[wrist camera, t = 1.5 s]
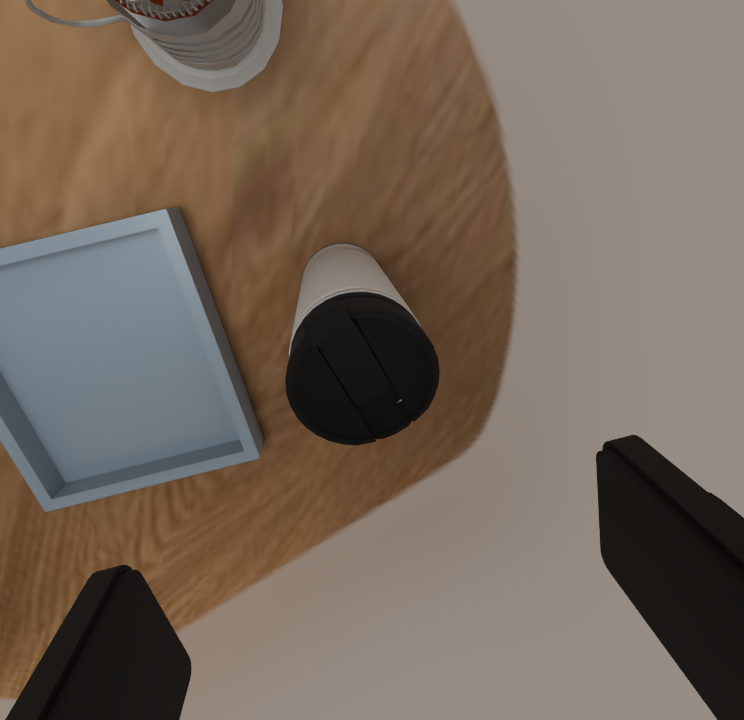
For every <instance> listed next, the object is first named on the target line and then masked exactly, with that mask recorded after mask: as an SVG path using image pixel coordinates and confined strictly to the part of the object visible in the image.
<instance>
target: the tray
mask: <svg viewBox="0 0 744 720" xmlns="http://www.w3.org/2000/svg"><path fill="white" fill-rule="evenodd" d="M0 441H1V443H2V444H3V446H4V447H5V449H6V451H7V452H8V454H9V455H10V457H11V459H12V460H13V462H14V463H15V465H16V467H17V468H18V470H19V471H20V473H21V475H22V476H23V478H24V479H25V481H26V482H27V484H28V486H29V487H30V489H31V490H32V492H33V494H34V495H35V497H36V498H37V500H38V502H39V503H40V505H41V506H42V508H43V510H44V511H45V512H48V511H52V510H56V509H60V508H64V507H68V506H72V505H76V504H80V503H84V502H88V501H92V500H96V499H100V498H104V497H108V496H112V495H116V494H120V493H124V492H128V491H132V490H136V489H140V488H144V487H148V486H152V485H156V484H160V483H164V482H168V481H172V480H176V479H180V478H184V477H188V476H192V475H196V474H200V473H204V472H208V471H212V470H216V469H220V468H224V467H228V466H232V465H236V464H239V463H243V462H247V461H251V460H255V459H259V458H260V457H261V452H262V448H263V443H264V437H263V434H262V432H261V429H260V426H259V423H258V421H257V418H256V415H255V412H254V410H253V407H252V404H251V401H250V399H249V396H248V393H247V391H246V388H245V385H244V382H243V380H242V377H241V374H240V371H239V369H238V366H237V363H236V361H235V358H234V355H233V352H232V350H231V347H230V344H229V341H228V339H227V336H226V333H225V330H224V328H223V325H222V322H221V320H220V317H219V314H218V311H217V309H216V306H215V303H214V300H213V298H212V295H211V292H210V290H209V287H208V284H207V281H206V279H205V276H204V273H203V270H202V268H201V265H200V262H199V259H198V257H197V254H196V251H195V249H194V246H193V243H192V240H191V238H190V235H189V232H188V229H187V227H186V224H185V221H184V219H183V216H182V213H181V210H180V208H179V207H174V208H168V209H163V210H159V211H155V212H151V213H147V214H143V215H138V216H134V217H130V218H126V219H122V220H118V221H114V222H109V223H105V224H101V225H97V226H93V227H89V228H84V229H80V230H76V231H72V232H68V233H64V234H60V235H55V236H51V237H47V238H43V239H39V240H35V241H31V242H26V243H22V244H18V245H14V246H10V247H6V248H1V249H0Z"/></svg>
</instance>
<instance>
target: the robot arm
mask: <svg viewBox="0 0 744 720" xmlns="http://www.w3.org/2000/svg"><path fill="white" fill-rule="evenodd" d="M596 463H597V485H598V505H599V527H600V547H601V555H602V558H603V561H604V563H605V565H606V567H607V569H608V570H609V572H610V573H611V574H612V576H613V577H614V579H615V580H616V581H617V583H618V584H619V585H620V587H621V588H622V589H623V591H624V592H625V594H626V595H627V596H628V598H629V599H630V600H631V602H632V603H633V605H634V606H635V607H636V609H637V610H638V611H639V613H640V614H641V615H642V617H643V618H644V620H645V621H646V622H647V624H648V625H649V626H650V628H651V629H652V631H653V632H654V633H655V635H656V636H657V637H658V639H659V640H660V642H661V643H662V644H663V646H664V647H665V648H666V650H667V651H668V652H669V654H670V655H671V657H672V658H673V659H674V660H675V662H676V663H677V665H678V666H679V668H680V669H681V670H682V672H683V673H684V674H685V676H686V677H687V678H688V680H689V681H690V683H691V684H692V685H693V687H694V688H695V689H696V691H697V692H698V694H699V695H700V696H701V698H702V699H703V700H704V702H705V703H706V704H707V706H708V707H709V709H710V710H711V711H712V713H713V714H714V715H715V717H716V718H717V720H744V518H743V517H742V516H741V515H739V514H738V513H737V512H736V511H734V510H733V509H732V508H731V507H729V506H728V505H727V504H726V503H724V502H723V501H722V500H721V499H719V498H718V497H716V496H714V495H713V494H712V493H709V492H707V491H705V490H704V489H703V488H702V487H701V486H699V485H698V484H697V483H696V482H694V481H693V480H692V479H691V478H689V477H688V476H687V475H686V474H685V473H683V472H682V471H681V470H680V469H678V468H677V467H676V466H675V465H673V464H672V463H671V462H670V461H669V460H667V459H666V458H665V457H664V456H662V455H661V454H660V453H659V452H657V451H656V450H655V449H654V448H653V447H651V446H650V445H649V444H648V443H646V442H645V441H644V440H643V439H642V438H640V437H638V436H636V435H630V436H627V437H623V438H619V439H615V440H611V441H607V442H605V443H604V445H603V450H602V451H599V452H597V455H596ZM190 677H191V661H190V658H189V655H188V654H187V652H186V650H185V648H184V647H183V645H182V643H181V641H180V640H179V638H178V636H177V635H176V633H175V631H174V629H173V628H172V626H171V624H170V622H169V621H168V619H167V617H166V615H165V614H164V612H163V610H162V609H161V607H160V605H159V603H158V602H157V600H156V598H155V596H154V595H153V593H152V591H151V590H150V588H149V586H148V584H147V583H146V581H145V579H144V577H143V576H142V574H141V573H140V572H139V571H138V570H132V568H131V567H130V566H128V565H121V566H117V567H113V568H109V569H105V570H101V571H98V572H95V573H94V574H92V575H91V576H90V578H89V579H88V581H87V582H86V584H85V586H84V587H83V589H82V591H81V592H80V594H79V596H78V598H77V599H76V601H75V603H74V604H73V606H72V608H71V609H70V611H69V613H68V615H67V616H66V618H65V620H64V621H63V623H62V625H61V626H60V628H59V630H58V631H57V633H56V635H55V637H54V638H53V640H52V642H51V643H50V645H49V647H48V648H47V650H46V652H45V653H44V655H43V657H42V659H41V660H40V662H39V664H38V665H37V667H36V669H35V670H34V672H33V674H32V676H31V677H30V679H29V681H28V682H27V684H26V686H25V687H24V689H23V691H22V692H21V694H20V696H19V698H18V699H17V701H16V703H15V704H14V706H13V708H12V709H11V711H10V713H9V715H8V716H7V718H6V720H179V718H180V715H181V711H182V707H183V703H184V699H185V696H186V692H187V689H188V685H189V681H190Z"/></svg>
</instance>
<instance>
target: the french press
mask: <svg viewBox="0 0 744 720" xmlns="http://www.w3.org/2000/svg"><path fill="white" fill-rule="evenodd" d="M107 1H108V2H109V4H110V5H111V7H113V8H114V9H115V10H116V11H117V12H118V13H120V14H121V15H118V16H112V17H107V18H102V19H97V20H87V21H70V20H62V19H59V18H57V17H54V16H51V15H48V14H47V13H45V12H43V11H41V10H39V9H38V8H36V7H35V6H34V4H33V3H32V1H31V0H25V2H26V4H27V6H28V7H29V9H30V10H31V11H32V12H34V13H36V14H37V15H39V16H41V17H43V18H45V19H46V20H48V21H50V22H52V23H57V24H62V25H67V26H73V27H78V28H81V27H95V26H102V25H106V24H111V23H115V22H120V21H128V22H129V23H130V25H131V28H132V31H133V34H134V36H135V37H136V39H137V40H138V42H139V43H140V44H141V46H142V47H143V49H144V50H145V51H146V53H147V54H148V56H149V57H150V58H151V60H152V61H153V62H154V64H155V65H156V66H157V67H159V68H160V69H162V70H163V71H164V72H166V73H167V74H169V75H170V76H171V77H173V78H174V79H176V80H177V81H179V82H180V83H181V84H183V85H186V86H190V87H194V88H198V89H202V90H206V91H211V92H216V91H221V90H226V89H232V88H237V87H241V86H243V85H244V84H245V83H247V82H248V81H249V80H251V79H252V78H253V77H255V76H256V75H257V74H258V73H260V72H261V71H262V70H264V69H265V67H266V65H267V63H268V61H269V59H270V57H271V56H272V54H273V52H274V50H275V48H276V46H277V44H278V42H279V38H280V30H281V21H282V13H283V3H282V0H107ZM117 2H118V3H119V4H121V5H122V6H123V7H125V9H126V10H125V9H124V8H123V7H122V6H120V5H119V4H118V3H117Z"/></svg>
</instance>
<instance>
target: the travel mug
mask: <svg viewBox="0 0 744 720" xmlns="http://www.w3.org/2000/svg"><path fill="white" fill-rule="evenodd" d="M439 372H440V371H439V363H438V357H437V354H436V352H435V349H434V346H433V345H432V343H431V341H430V340H429V338H428V337H427V335H426V334H425V332H424V331H423V329H422V327H421V325H420V324H419V322H418V320H417V319H416V317H415V316H414V314H413V313H412V312H411V310H410V309H409V307H408V306H407V304H406V303H405V302H404V300H403V299H402V297H401V296H400V295H399V293H398V292H397V290H396V289H395V287H394V286H393V285H392V283H391V282H390V280H389V279H388V278H387V276H386V275H385V273H384V272H383V270H382V269H381V268H380V266H379V265H378V263H377V262H376V261H375V259H374V258H373V257H372V256H371V255H370V254H369V253H368V252H367V251H366V250H364V249H363V248H361V247H359V246H356V245H354V244H349V243H335V244H330V245H328V246H326V247H323V248H322V249H320V250H319V251H317V252H316V253H315V254H314V255H313V256H312V257H311V258H310V260H309V261H308V263H307V265H306V267H305V270H304V272H303V278H302V283H301V289H300V294H299V299H298V305H297V310H296V315H295V321H294V326H293V331H292V337H291V342H290V349H289V361H288V366H287V373H286V380H285V382H286V394H287V397H288V400H289V403H290V406H291V408H292V410H293V412H294V413H295V415H296V417H297V418H298V419H299V420H300V421H301V422H302V424H303V425H304V426H305V427H306V428H308V429H309V430H310V431H312V432H313V433H315V434H316V435H318V436H320V437H322V438H324V439H326V440H329V441H332V442H336V443H340V444H345V445H361V444H366V443H371V442H376V440H375V439H384V438H386V437H389V436H391V435H393V434H396V433H398V432H399V431H401V430H402V429H404V428H406V427H407V426H409V424H410V423H411V422H412V420H413V421H414V422H415V421H416V420H417V419H418V418H419V417H420V416H421V415H422V414H423V413H424V412H425V411H426V410H427V409H428V408H429V406H430V404H431V402H432V400H433V398H434V396H435V393H436V390H437V387H438V382H439Z"/></svg>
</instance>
